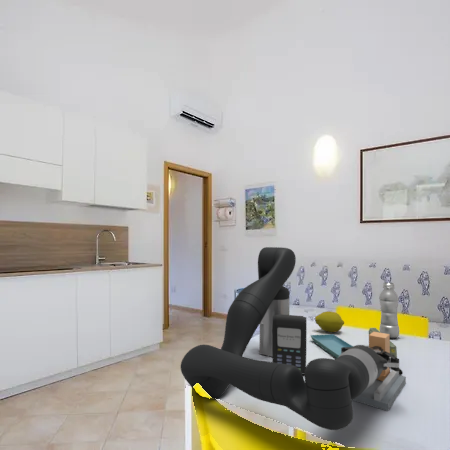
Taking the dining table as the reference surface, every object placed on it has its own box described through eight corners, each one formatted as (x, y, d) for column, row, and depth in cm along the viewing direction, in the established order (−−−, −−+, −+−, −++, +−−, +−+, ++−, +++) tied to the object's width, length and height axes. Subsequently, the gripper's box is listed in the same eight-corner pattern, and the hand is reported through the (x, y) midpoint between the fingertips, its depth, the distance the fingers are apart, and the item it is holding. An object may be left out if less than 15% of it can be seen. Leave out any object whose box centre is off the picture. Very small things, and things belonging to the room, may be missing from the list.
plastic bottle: (403, 340, 120) (402, 284, 121) (384, 339, 120) (383, 284, 121) (394, 335, 126) (393, 282, 127) (376, 334, 126) (375, 282, 127)
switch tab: (385, 381, 80) (384, 338, 81) (368, 377, 82) (368, 335, 83) (390, 375, 84) (389, 334, 84) (374, 371, 86) (374, 331, 87)
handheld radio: (378, 347, 112) (407, 377, 87) (368, 347, 112) (394, 377, 88) (377, 327, 112) (406, 352, 88) (367, 327, 113) (392, 351, 88)
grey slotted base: (387, 411, 69) (387, 396, 70) (340, 396, 76) (340, 383, 76) (405, 383, 83) (405, 370, 84) (364, 372, 90) (364, 361, 90)
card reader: (270, 372, 89) (271, 316, 90) (272, 367, 93) (273, 313, 94) (306, 376, 87) (306, 318, 87) (306, 371, 90) (306, 315, 91)
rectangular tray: (379, 369, 94) (379, 360, 94) (349, 370, 92) (349, 361, 92) (333, 341, 119) (333, 334, 120) (309, 342, 118) (309, 335, 118)
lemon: (344, 331, 131) (344, 310, 132) (344, 336, 124) (344, 314, 124) (316, 328, 135) (316, 308, 135) (314, 333, 128) (314, 312, 128)
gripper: (325, 378, 72) (350, 360, 85) (392, 396, 64) (409, 373, 77) (326, 342, 72) (351, 330, 86) (392, 356, 64) (408, 340, 78)
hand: (378, 350), depth 82 cm, fingers closed
